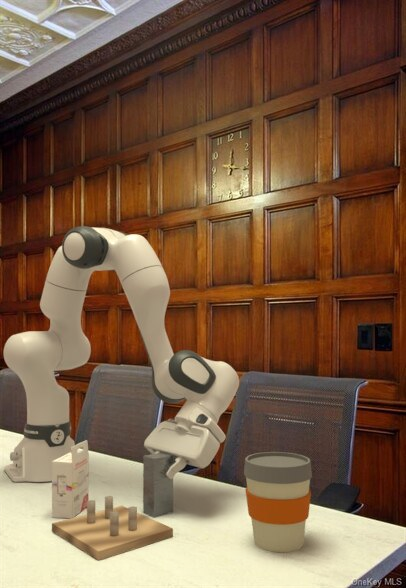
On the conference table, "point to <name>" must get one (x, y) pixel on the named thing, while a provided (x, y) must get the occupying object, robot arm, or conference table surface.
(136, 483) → the conference table surface
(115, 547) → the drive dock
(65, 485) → the ink cartridge box
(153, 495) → the plate
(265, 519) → the reusable coffee cup
